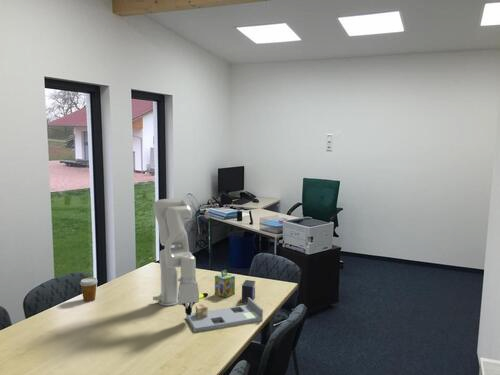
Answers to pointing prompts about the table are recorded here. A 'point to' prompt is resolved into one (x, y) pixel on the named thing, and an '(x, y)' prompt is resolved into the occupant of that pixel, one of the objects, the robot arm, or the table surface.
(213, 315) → the trap deck
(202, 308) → the beech block
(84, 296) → the disposable coffee cup
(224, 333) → the table surface
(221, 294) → the chalk box
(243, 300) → the small box
